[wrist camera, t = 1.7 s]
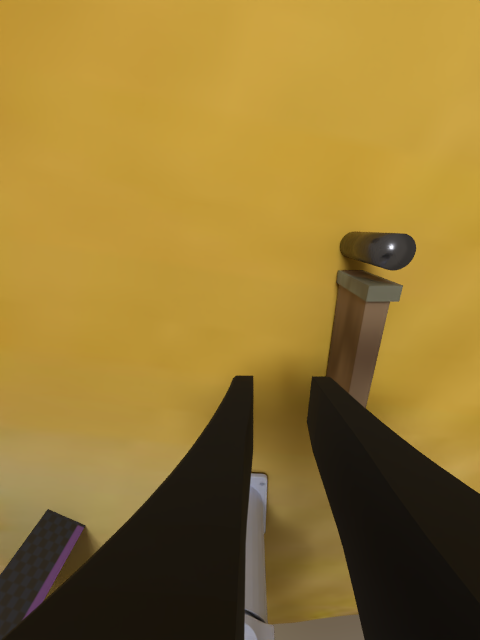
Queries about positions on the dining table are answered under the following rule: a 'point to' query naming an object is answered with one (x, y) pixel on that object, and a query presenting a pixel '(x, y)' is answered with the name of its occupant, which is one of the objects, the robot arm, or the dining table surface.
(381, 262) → the gate posts
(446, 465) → the dining table surface
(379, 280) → the brown wooden block
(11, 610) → the cereal box
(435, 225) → the dining table surface
